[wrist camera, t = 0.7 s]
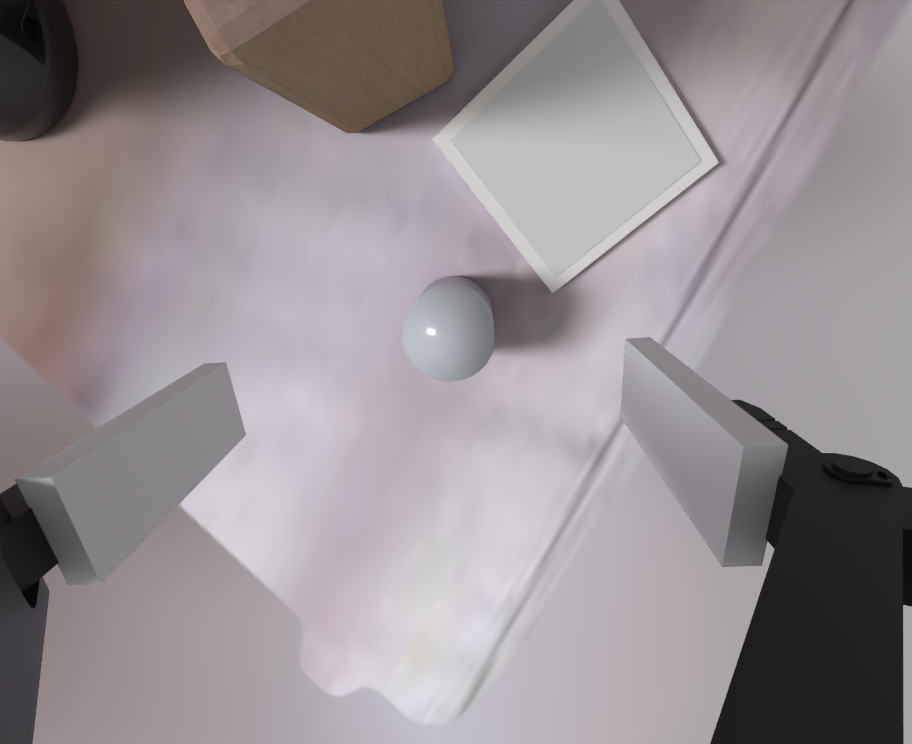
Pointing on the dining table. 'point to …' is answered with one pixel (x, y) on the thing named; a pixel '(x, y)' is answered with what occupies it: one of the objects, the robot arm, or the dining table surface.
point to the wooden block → (333, 51)
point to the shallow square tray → (576, 141)
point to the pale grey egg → (450, 329)
